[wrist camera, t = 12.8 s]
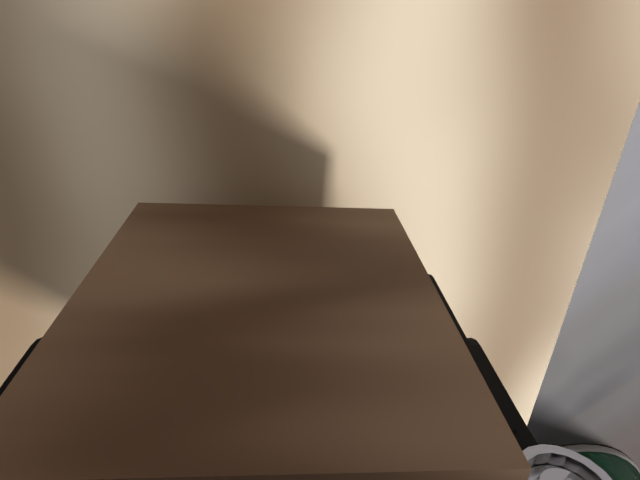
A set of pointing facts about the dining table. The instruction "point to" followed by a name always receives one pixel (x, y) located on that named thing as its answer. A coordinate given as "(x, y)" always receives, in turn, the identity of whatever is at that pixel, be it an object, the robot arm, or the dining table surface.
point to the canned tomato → (609, 461)
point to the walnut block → (255, 359)
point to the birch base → (322, 139)
